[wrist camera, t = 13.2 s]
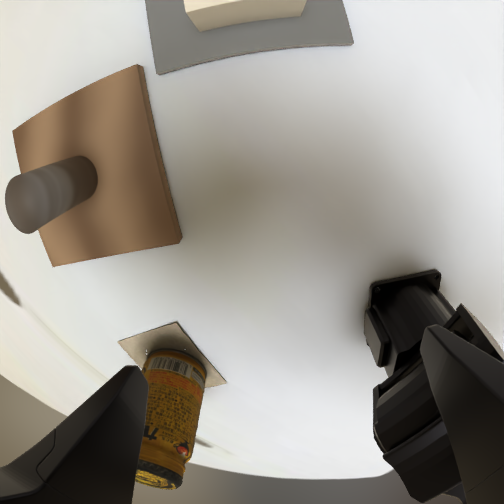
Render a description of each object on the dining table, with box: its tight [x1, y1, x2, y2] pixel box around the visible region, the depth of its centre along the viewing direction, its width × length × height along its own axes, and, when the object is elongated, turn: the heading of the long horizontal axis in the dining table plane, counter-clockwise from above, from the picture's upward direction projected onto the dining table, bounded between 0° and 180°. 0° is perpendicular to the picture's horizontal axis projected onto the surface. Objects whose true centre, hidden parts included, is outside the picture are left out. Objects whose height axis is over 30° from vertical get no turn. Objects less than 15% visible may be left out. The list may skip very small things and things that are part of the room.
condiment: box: [118, 323, 226, 490], centre depth 19 cm, size 7×8×12 cm
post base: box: [5, 64, 182, 267], centre depth 14 cm, size 12×12×7 cm
